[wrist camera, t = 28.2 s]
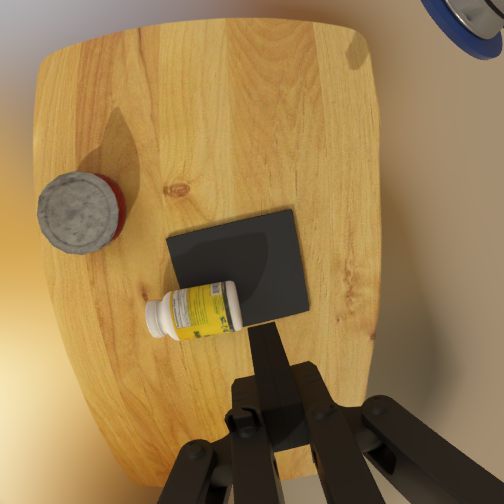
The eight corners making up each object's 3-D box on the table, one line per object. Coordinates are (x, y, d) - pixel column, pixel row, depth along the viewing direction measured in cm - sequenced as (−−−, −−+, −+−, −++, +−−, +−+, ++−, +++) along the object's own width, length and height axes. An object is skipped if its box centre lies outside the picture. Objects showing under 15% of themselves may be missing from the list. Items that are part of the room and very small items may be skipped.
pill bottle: (244, 327, 38) (163, 339, 38) (235, 280, 39) (155, 294, 38) (243, 333, 32) (148, 347, 31) (232, 278, 33) (138, 295, 32)
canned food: (105, 172, 38) (103, 140, 29) (137, 231, 39) (143, 214, 30) (40, 211, 33) (20, 190, 24) (71, 273, 34) (56, 269, 25)
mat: (290, 209, 37) (291, 209, 36) (308, 308, 40) (309, 310, 40) (166, 238, 36) (165, 238, 36) (196, 334, 40) (195, 336, 39)
